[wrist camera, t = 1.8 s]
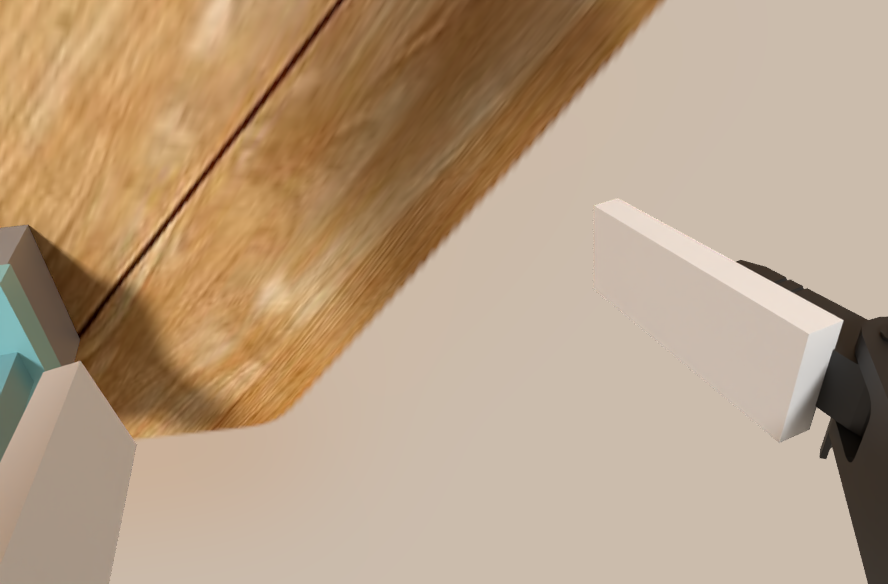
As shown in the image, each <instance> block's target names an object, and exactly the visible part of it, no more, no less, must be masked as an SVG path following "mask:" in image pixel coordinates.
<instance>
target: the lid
mask: <svg viewBox="0 0 888 584" xmlns="http://www.w3.org/2000/svg"><path fill="white" fill-rule="evenodd" d="M58 367H61V365H60V363H59V361H58V359H57V357H56V355H55V353H54V351H53V349H52V347H51V345H50V343H49V341H48V339H47V336H46V334H45V332H44V330H43V328H42V326H41V324H40V322H39V320H38V318H37V316H36V314H35V312H34V310H33V308H32V306H31V304H30V302H29V300H28V298H27V296H26V294H25V292H24V290H23V288H22V286H21V284H20V282H19V280H18V278H17V276H16V274H15V272H14V270H13V268H12V266H11V264H5V265H0V462H1V460H2V457H3V455H4V453H5V451H6V449H7V447H8V445H9V443H10V441H11V439H12V437H13V434H14V432H15V430H16V428H17V426H18V424H19V422H20V420H21V418H22V416H23V414H24V411H25V409H26V407H27V405H28V403H29V401H30V399H31V397H32V395H33V393H34V391H35V389H36V386H37V384H38V382H39V380H40V378H41V376H42V374H43V372H45V371H48V370H52V369H55V368H58Z"/></svg>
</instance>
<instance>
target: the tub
mask: <svg viewBox="0 0 888 584" xmlns="http://www.w3.org/2000/svg"><path fill="white" fill-rule="evenodd" d="M5 264H11V266H12V268H13V270H14V272H15V274H16V276H17V278H18V280H19V282H20V284H21V286H22V288H23V290H24V292H25V294H26V296H27V298H28V300H29V302H30V304H31V306H32V308H33V310H34V312H35V314H36V316H37V318H38V320H39V322H40V324H41V326H42V328H43V330H44V332H45V334H46V336H47V339H48V341H49V343H50V345H51V347H52V349H53V351H54V353H55V355H56V357H57V359H58V361H59V363H60V365H61V367H62V366H65V365H68V364H72V363H74V361H75V357H76V353H77V350H78V346H79V342H80V339H79V336H78V334H77V332H76V330H75V328H74V325H73V323H72V321H71V319H70V316H69V314H68V312H67V310H66V308H65V305H64V303H63V301H62V299H61V297H60V294H59V292H58V290H57V288H56V286H55V283H54V281H53V279H52V277H51V275H50V272H49V270H48V268H47V266H46V264H45V261H44V259H43V257H42V255H41V253H40V250H39V248H38V246H37V244H36V242H35V239H34V237H33V235H32V233H31V230H30V228H29V226H28V225H22V226H14V227H5V228H0V265H5Z"/></svg>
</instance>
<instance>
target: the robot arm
mask: <svg viewBox="0 0 888 584" xmlns="http://www.w3.org/2000/svg"><path fill="white" fill-rule="evenodd" d="M593 283H594V285H593V287H594V290H595V291H596V292H597V293H599V294H600V295H601V296H602V297H603V298H605V299H606V300H607V301H608V302H610V303H611V304H612V305H613V306H614V307H616V308H617V309H618V310H619V311H620V312H622V313H623V314H624V315H625V316H627V317H628V318H629V319H630V320H631V321H633V322H634V323H635V324H636V325H637V326H639V327H640V328H641V329H642V330H643V331H645V332H646V333H647V334H648V335H649V336H651V337H652V338H653V339H654V340H655V341H657V342H658V343H659V344H660V345H661V346H663V347H664V348H665V349H666V350H668V351H669V352H670V353H671V354H673V355H674V356H675V357H676V358H677V359H678V360H680V361H681V362H682V363H683V364H684V365H686V366H687V367H688V368H689V369H690V370H692V371H693V372H694V373H695V374H697V375H698V376H699V377H700V378H701V379H703V380H704V381H705V382H706V383H708V384H709V385H710V386H711V387H712V388H713V389H715V390H716V391H717V392H718V393H720V394H721V395H722V396H723V397H724V398H726V399H727V400H728V401H729V402H731V403H732V404H733V405H734V406H735V407H737V408H738V409H739V410H740V411H741V412H742V413H744V414H745V415H746V416H747V417H749V418H750V419H751V420H752V421H753V422H755V423H756V424H757V425H758V426H759V427H761V428H762V429H763V430H764V431H765V432H767V433H768V434H769V435H770V436H771V437H773V438H774V439H775V440H776V441H778V442H779V443H780V442H782V441H784V440H787V439H789V438H791V437H794V436H795V435H798V434H800V433H802V432H805V431H807V430H809V429H810V426H811V423H812V420H813V416H814V413H815V410H816V407H817V408H819V409H820V410H822V411H823V412H824V413H826V414H827V415H829V416H830V417H831V419H830V422H829V425H828V428H827V431H826V435H825V437H824V440H823V443H822V446H821V449H820V458H823V459H826V458H827V455H828V452H829V450H830V448H833V451H834V455H835V459H836V463H837V467H838V470H839V474H840V478H841V482H842V486H843V490H844V493H845V497H846V501H847V505H848V509H849V513H850V516H851V520H852V524H853V528H854V532H855V536H856V539H857V543H858V547H859V551H860V555H861V558H862V562H863V566H864V570H865V574H866V578H867V581H868V584H888V317H878V318H875V319H871V320H867V319H865V318H863V317H861V316H859V315H857V314H855V313H853V312H852V311H850V310H848V309H846V308H844V307H842V306H840V305H838V304H836V303H834V302H832V301H830V300H828V299H827V298H825V297H823V296H821V295H819V294H817V293H815V292H813V291H811V290H809V289H803V286H802V285H800V284H798V283H796V282H794V281H792V280H787V279H786V277H784V276H782V275H780V274H779V273H777V272H775V271H772V270H771V269H769V268H767V267H764V266H760V265H757V264H753V263H750V262H746V261H743V260H739V261H737V262H735V261H733V260H731V259H729V258H728V257H726V256H724V255H722V254H720V253H718V252H717V251H715V250H713V249H711V248H709V247H707V246H705V245H704V244H701V243H700V242H698V241H696V240H694V239H693V238H691V237H689V236H687V235H685V234H683V233H681V232H680V231H678V230H676V229H674V228H672V227H670V226H668V225H666V224H665V223H663V222H661V221H659V220H657V219H656V218H654V217H652V216H650V215H648V214H646V213H644V212H643V211H641V210H639V209H637V208H635V207H633V206H632V205H630V204H628V203H626V202H624V201H622V200H621V199H619V198H616V199H613V200H610V201H607V202H603V203H600V204H596V205H594V281H593ZM135 450H136V443H135V441H134V440H133V438H132V437H131V435H130V434H129V432H128V431H127V429H126V428H125V426H124V425H123V423H122V422H121V420H120V419H119V417H118V416H117V414H116V413H115V411H114V410H113V408H112V407H111V405H110V404H109V402H108V401H107V399H106V398H105V396H104V395H103V393H102V392H101V391H100V389H99V388H98V386H97V385H96V383H95V382H94V380H93V379H92V377H91V376H90V374H89V373H88V371H87V370H86V368H85V367H84V365H83V364H82V362H81V361H78V362H75V363H72V364H68V365H65V366H62V367H58V368H55V369H52V370H48V371H45V372H43V374H42V376H41V378H40V380H39V382H38V384H37V386H36V389H35V391H34V393H33V395H32V397H31V399H30V401H29V403H28V405H27V407H26V409H25V411H24V414H23V416H22V418H21V420H20V422H19V424H18V426H17V428H16V430H15V432H14V434H13V437H12V439H11V441H10V443H9V445H8V447H7V449H6V451H5V453H4V455H3V457H2V460H1V462H0V584H109V581H110V576H111V571H112V566H113V561H114V556H115V551H116V546H117V541H118V536H119V531H120V525H121V521H122V516H123V510H124V506H125V501H126V496H127V490H128V486H129V480H130V476H131V470H132V466H133V461H134V455H135Z"/></svg>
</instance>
